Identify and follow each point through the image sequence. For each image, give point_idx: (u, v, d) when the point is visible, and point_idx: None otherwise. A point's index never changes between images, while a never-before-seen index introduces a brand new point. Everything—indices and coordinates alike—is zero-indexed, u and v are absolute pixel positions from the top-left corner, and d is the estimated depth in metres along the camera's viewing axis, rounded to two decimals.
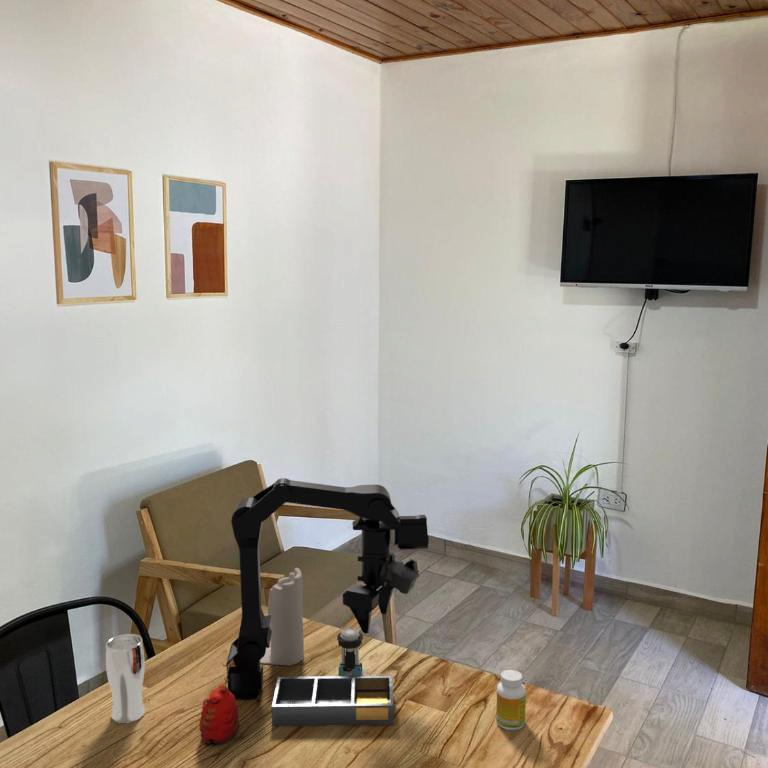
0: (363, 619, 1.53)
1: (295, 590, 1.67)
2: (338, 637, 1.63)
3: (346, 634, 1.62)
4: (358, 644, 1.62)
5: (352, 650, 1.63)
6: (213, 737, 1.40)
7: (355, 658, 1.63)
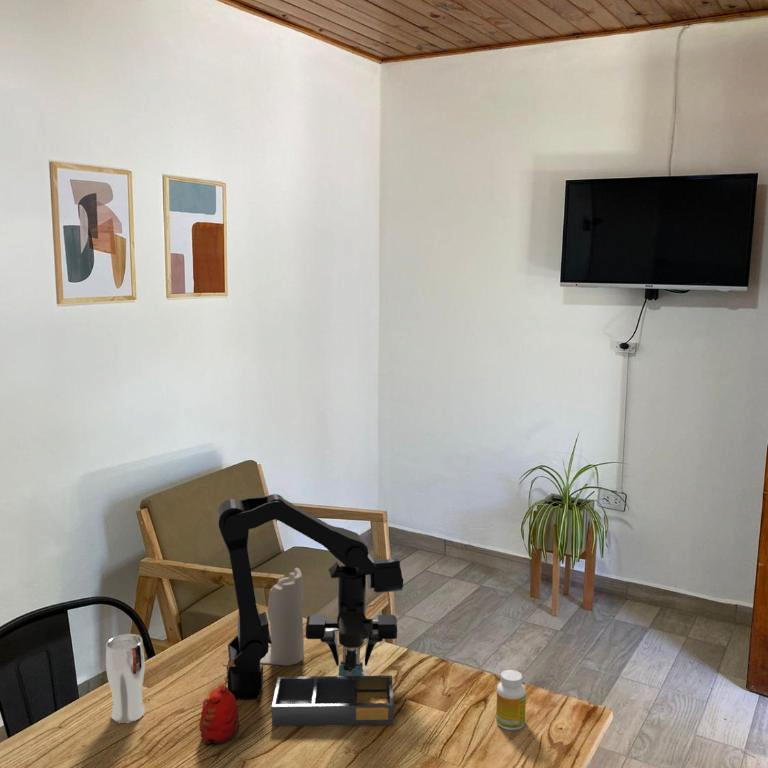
0: None
1: (295, 590, 1.67)
2: None
3: None
4: None
5: (353, 649, 1.63)
6: (213, 737, 1.40)
7: (356, 657, 1.63)
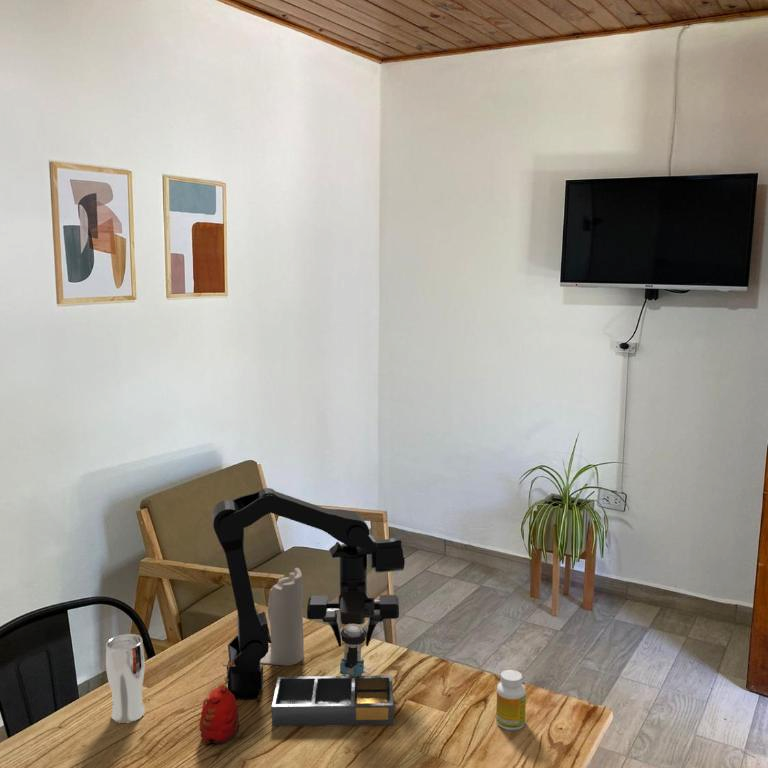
0: None
1: (296, 590, 1.67)
2: (342, 633, 1.63)
3: (350, 630, 1.62)
4: (362, 641, 1.62)
5: (355, 646, 1.63)
6: (213, 737, 1.40)
7: (357, 655, 1.63)
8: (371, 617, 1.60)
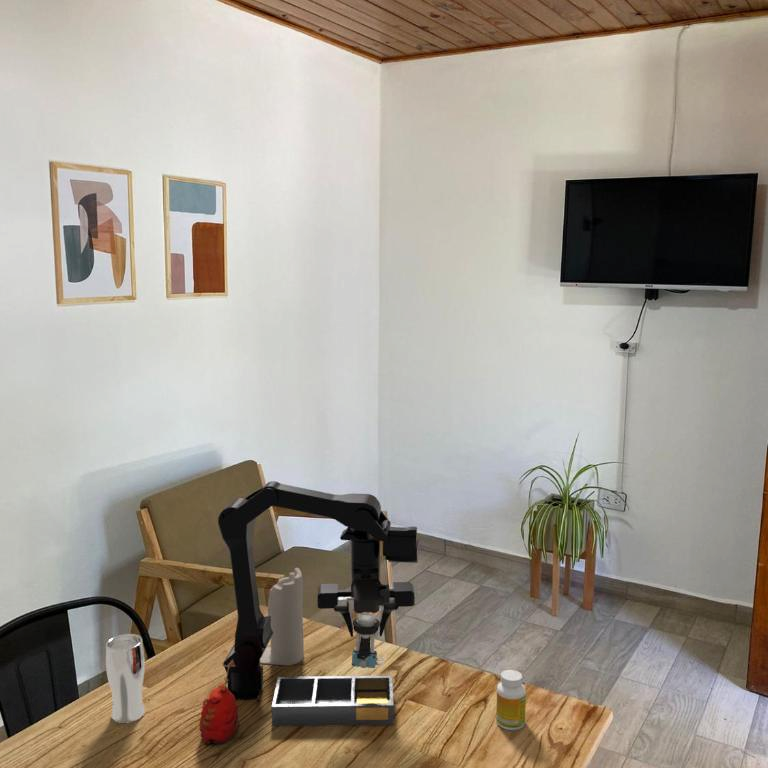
0: None
1: (295, 590, 1.67)
2: (354, 622, 1.54)
3: (363, 619, 1.53)
4: (375, 630, 1.53)
5: (368, 637, 1.54)
6: (213, 737, 1.40)
7: None
8: (385, 605, 1.52)
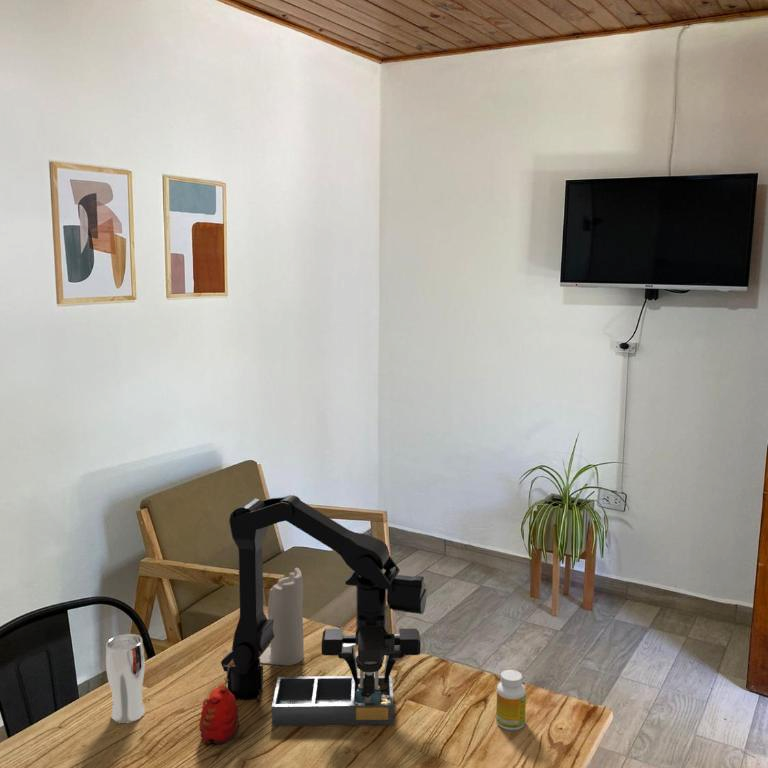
0: None
1: (295, 590, 1.67)
2: (357, 659, 1.51)
3: None
4: (379, 667, 1.50)
5: (372, 674, 1.51)
6: (213, 737, 1.40)
7: (374, 682, 1.51)
8: (390, 653, 1.49)
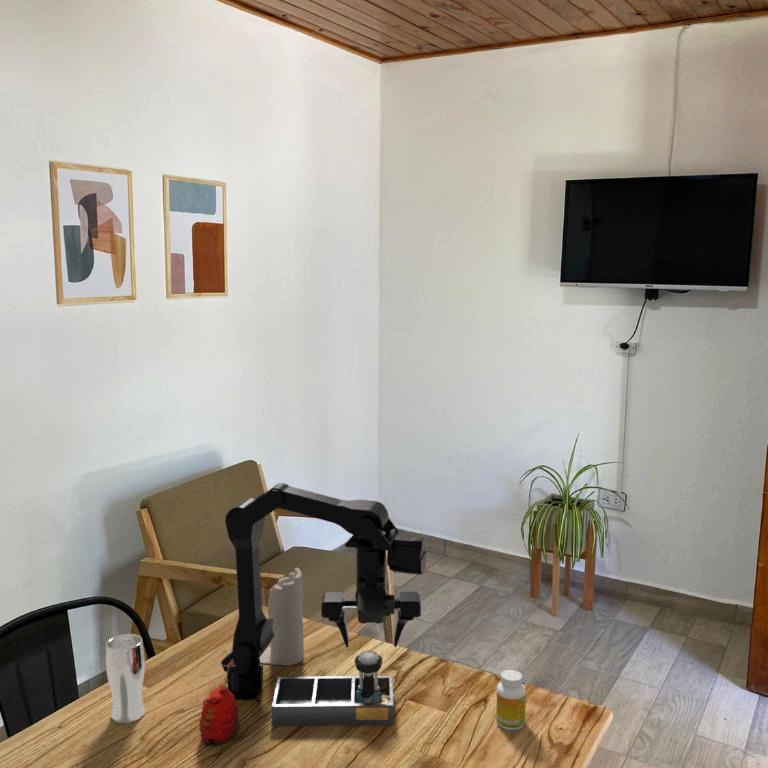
0: None
1: (296, 590, 1.67)
2: (356, 660, 1.51)
3: (365, 657, 1.50)
4: (378, 668, 1.50)
5: (371, 674, 1.51)
6: (213, 737, 1.40)
7: (374, 683, 1.51)
8: (400, 615, 1.48)
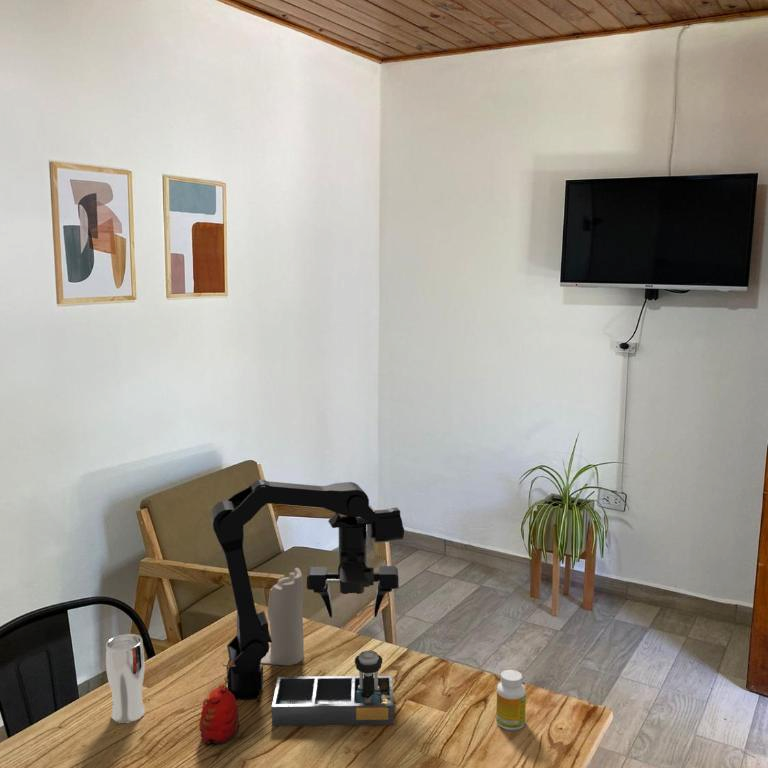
0: None
1: (295, 590, 1.67)
2: (356, 660, 1.51)
3: (365, 657, 1.50)
4: (378, 668, 1.50)
5: (371, 674, 1.51)
6: (213, 737, 1.40)
7: (374, 683, 1.51)
8: (379, 587, 1.60)
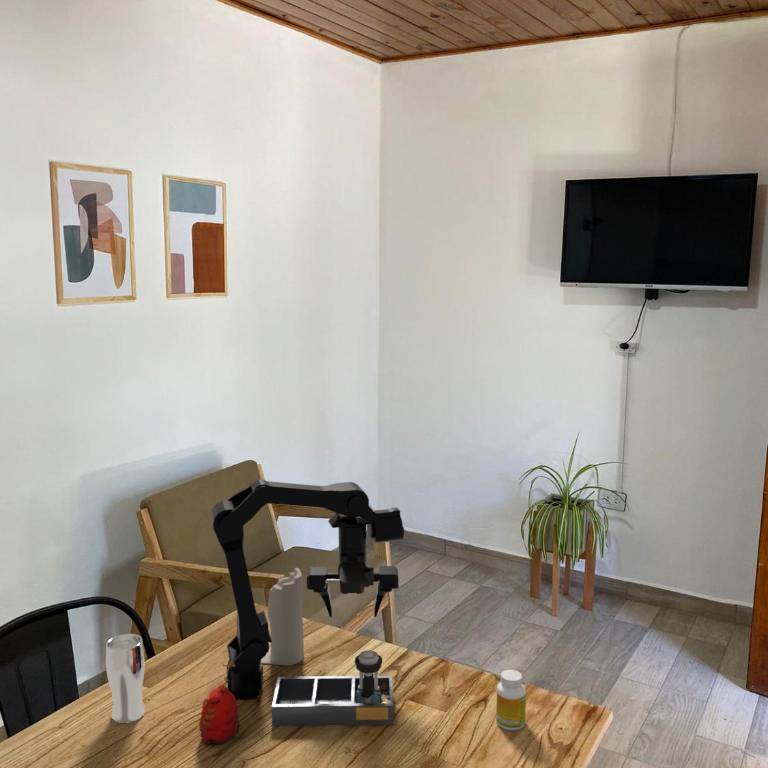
0: None
1: (295, 590, 1.67)
2: (356, 660, 1.51)
3: (365, 657, 1.50)
4: (378, 668, 1.50)
5: (371, 674, 1.51)
6: (213, 737, 1.40)
7: (374, 683, 1.51)
8: (379, 587, 1.61)
